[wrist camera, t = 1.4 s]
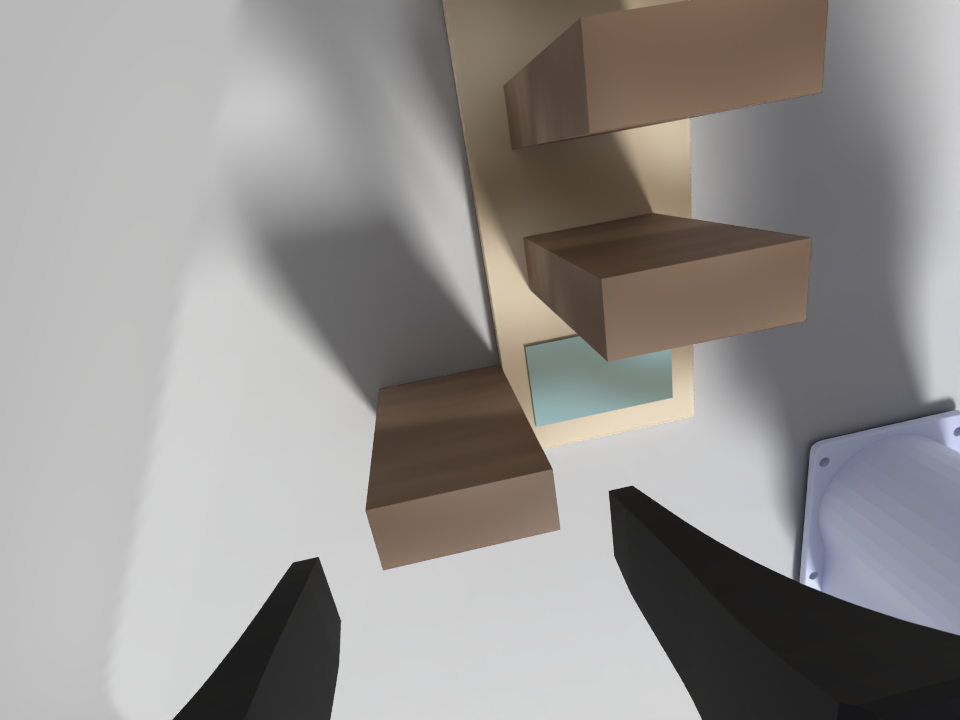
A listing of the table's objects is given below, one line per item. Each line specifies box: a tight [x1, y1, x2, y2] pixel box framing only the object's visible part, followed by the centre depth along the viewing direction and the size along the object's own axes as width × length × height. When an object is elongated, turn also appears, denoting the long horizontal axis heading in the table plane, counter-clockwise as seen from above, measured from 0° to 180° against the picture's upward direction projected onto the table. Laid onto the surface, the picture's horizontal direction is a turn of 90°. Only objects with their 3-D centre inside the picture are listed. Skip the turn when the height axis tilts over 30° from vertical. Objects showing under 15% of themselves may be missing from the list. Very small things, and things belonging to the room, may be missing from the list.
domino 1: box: [366, 365, 560, 570], centre depth 18 cm, size 2×5×8 cm, turn 99°
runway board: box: [442, 0, 694, 450], centre depth 19 cm, size 20×8×1 cm, turn 9°
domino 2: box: [503, 0, 828, 150], centre depth 14 cm, size 2×5×8 cm, turn 99°
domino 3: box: [523, 213, 812, 362], centre depth 16 cm, size 2×5×8 cm, turn 99°
